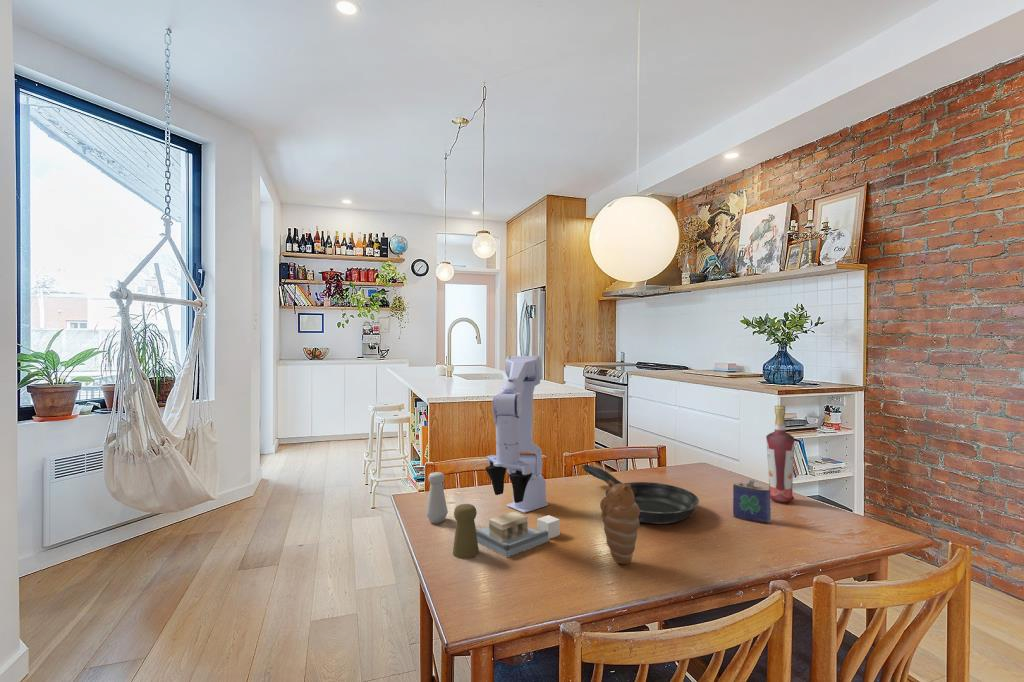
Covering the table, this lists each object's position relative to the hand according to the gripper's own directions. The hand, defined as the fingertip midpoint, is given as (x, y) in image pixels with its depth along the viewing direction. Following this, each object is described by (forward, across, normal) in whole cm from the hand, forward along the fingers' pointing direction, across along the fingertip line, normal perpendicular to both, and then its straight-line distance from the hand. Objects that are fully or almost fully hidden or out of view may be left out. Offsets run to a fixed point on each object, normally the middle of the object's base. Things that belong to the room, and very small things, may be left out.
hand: (508, 497), depth 122 cm
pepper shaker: (+11, -1, -12) cm, 16 cm away
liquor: (+11, +32, +78) cm, 85 cm away
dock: (+10, 0, 0) cm, 10 cm away
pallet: (+9, 0, 0) cm, 9 cm away
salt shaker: (+11, -23, -6) cm, 26 cm away
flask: (+11, +33, +56) cm, 66 cm away
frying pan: (+11, +5, +43) cm, 44 cm away
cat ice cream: (+11, +26, +10) cm, 30 cm away
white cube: (+10, +4, +10) cm, 15 cm away
